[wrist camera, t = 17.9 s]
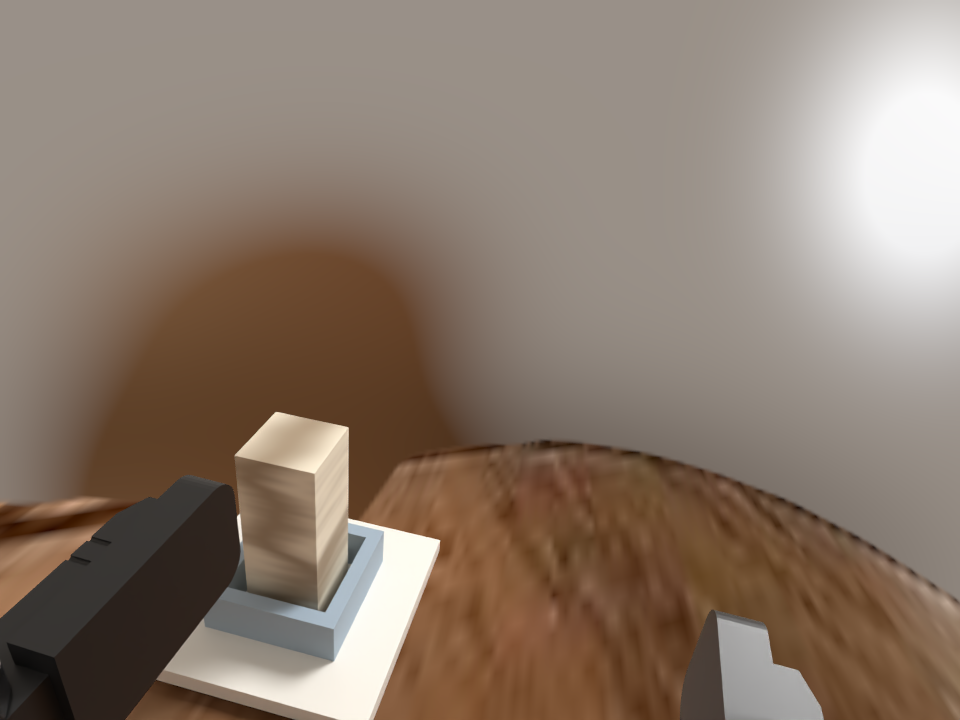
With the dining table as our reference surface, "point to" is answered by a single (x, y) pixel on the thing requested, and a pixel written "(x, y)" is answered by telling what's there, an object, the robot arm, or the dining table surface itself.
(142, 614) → the robot arm
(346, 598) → the sleeve holder
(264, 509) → the birch post
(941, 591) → the dining table surface
